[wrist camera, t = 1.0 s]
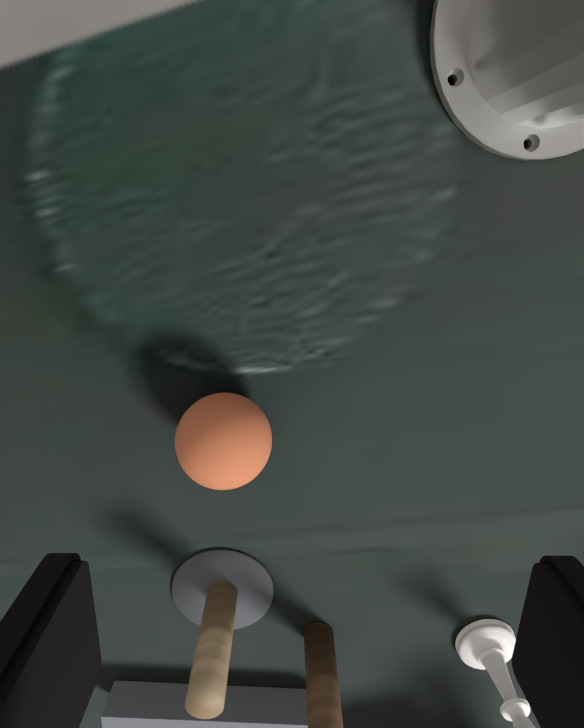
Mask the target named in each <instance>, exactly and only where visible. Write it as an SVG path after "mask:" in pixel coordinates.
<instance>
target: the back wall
mask: <svg viewBox="0 0 584 728" xmlns="http://www.w3.org/2000/svg"><path fill="white" fill-rule="evenodd" d="M188 685H189V684H182V683H160V682H138V681H115V680H114V683H113V686H112V688H111V691H110V694H109V697H108V700H107V702H106V705H105V708H104V711H103V714H102V716H101V719H102V728H308V717H307V693H306V689H295V688H272V687H250V686H226V694H225V703H224V709H223V711H222V713H221V714H220V715H218V716H217V717H215V718H212V719H199V718H196V717H193V716H192V715H190V714H189V713H188V712H187V711H186V709H185V700H186V695H187V690H188Z"/></svg>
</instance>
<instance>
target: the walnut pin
mask: <svg viewBox="0 0 584 728" xmlns="http://www.w3.org/2000/svg"><path fill="white" fill-rule="evenodd" d="M304 645H305V669H306V693H307V717H308V728H343V719H342V710H341V701H340V692H339V683H338V674H337V664H336V655H335V646H334V637H333V630H332V628H331V627H330V626H329V625H328V624H326V623H323V622H315V623H312V624H310V625H308V626H307V627H306V628H305V631H304Z"/></svg>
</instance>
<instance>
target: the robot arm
mask: <svg viewBox="0 0 584 728" xmlns="http://www.w3.org/2000/svg"><path fill="white" fill-rule="evenodd" d="M430 61H431V67H432V72H433V78H434V83H435V86H436V88H437V91H438V94H439V96H440V99H441V102H442V104H443V106H444V108H445V109H446V111H447V112H448V114H449V116H450V117H451V119H452V120H453V122H454V124H455V125H456V126H457V127H458V128H459V129H460V130H461V131H462V132H463V133H464V134H465V135H466V136H467V137H468V138H469V139H470V140H471V141H473V142H474V143H476V144H477V145H479V146H480V147H482V148H483V149H485V150H487V151H489V152H492V153H495V154H497V155H500V156H502V157H505V158H512V159H519V160H540V159H549V158H554V157H559V156H565V155H568V154H570V153H573V152H576V151H579V150H581V149H584V0H435V3H434V7H433V13H432V20H431V27H430ZM450 76H451V77H453V78H454V82H455V83H454V85H453V86H450V85H449V83H448V77H450ZM525 140H526V141H527V142H528V146H527V148H526V149H525V148H524V141H525ZM512 666H513V671H514V674H515V676H516V679H517V681H518V683H519V685H520V687H521V689H522V691H523V693H524V695H525V697H526V699H527V701H528V703H529V705H530V707H531V709H532V711H533V713H534V715H535V717H536V719H537V721H538V723H539V725H540V727H541V728H584V566H583V565H582V564H581V563H580V562H579V561H578V560H577V559H576V558H575V557H573V556H543V557H542V558H541V560H540V562H539V563H535V564H534V566H533V568H532V573H531V577H530V581H529V586H528V590H527V594H526V599H525V603H524V607H523V612H522V616H521V620H520V624H519V629H518V633H517V637H516V642H515V646H514V650H513V655H512ZM100 668H101V652H100V645H99V637H98V630H97V622H96V615H95V608H94V600H93V593H92V585H91V578H90V571H89V565H88V562H87V561H81V559H80V556H79V554H77V553H49V554H47V555H46V556H45V557H44V558H43V559H42V561H41V562H40V564H39V565H38V567H37V568H36V570H35V571H34V573H33V574H32V576H31V577H30V579H29V580H28V582H27V583H26V585H25V586H24V588H23V589H22V591H21V592H20V593H19V595H18V596H17V598H16V599H15V601H14V602H13V604H12V605H11V607H10V608H9V610H8V611H7V613H6V614H5V616H4V617H3V619H2V620H1V622H0V728H79V726H80V723H81V721H82V718H83V716H84V713H85V710H86V708H87V705H88V703H89V700H90V698H91V695H92V692H93V690H94V687H95V685H96V682H97V679H98V676H99V673H100Z"/></svg>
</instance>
